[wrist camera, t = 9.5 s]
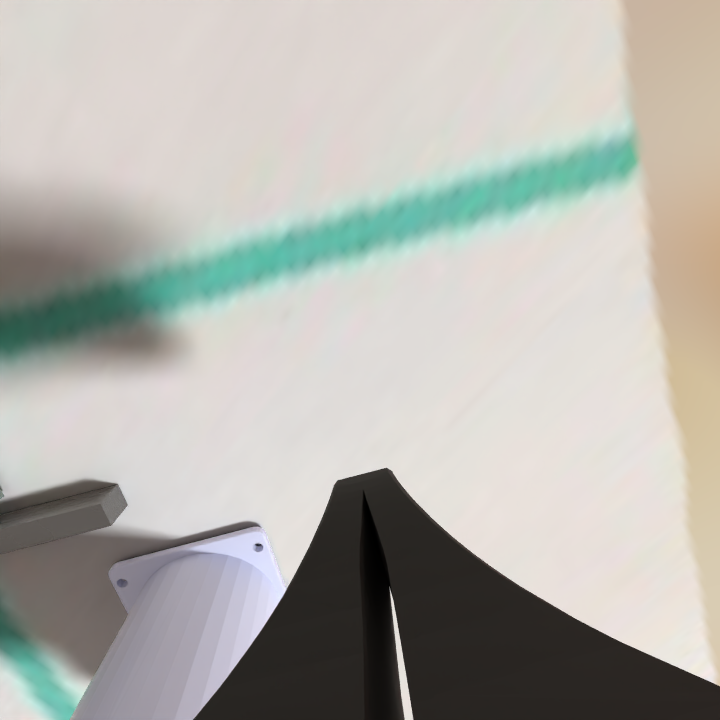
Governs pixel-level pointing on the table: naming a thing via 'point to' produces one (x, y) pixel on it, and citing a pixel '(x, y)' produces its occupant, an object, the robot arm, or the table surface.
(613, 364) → the table surface
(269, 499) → the table surface
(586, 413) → the table surface
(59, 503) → the vise body
